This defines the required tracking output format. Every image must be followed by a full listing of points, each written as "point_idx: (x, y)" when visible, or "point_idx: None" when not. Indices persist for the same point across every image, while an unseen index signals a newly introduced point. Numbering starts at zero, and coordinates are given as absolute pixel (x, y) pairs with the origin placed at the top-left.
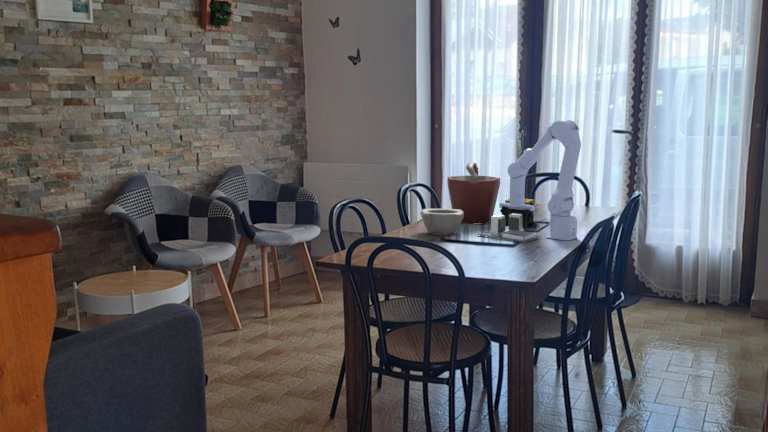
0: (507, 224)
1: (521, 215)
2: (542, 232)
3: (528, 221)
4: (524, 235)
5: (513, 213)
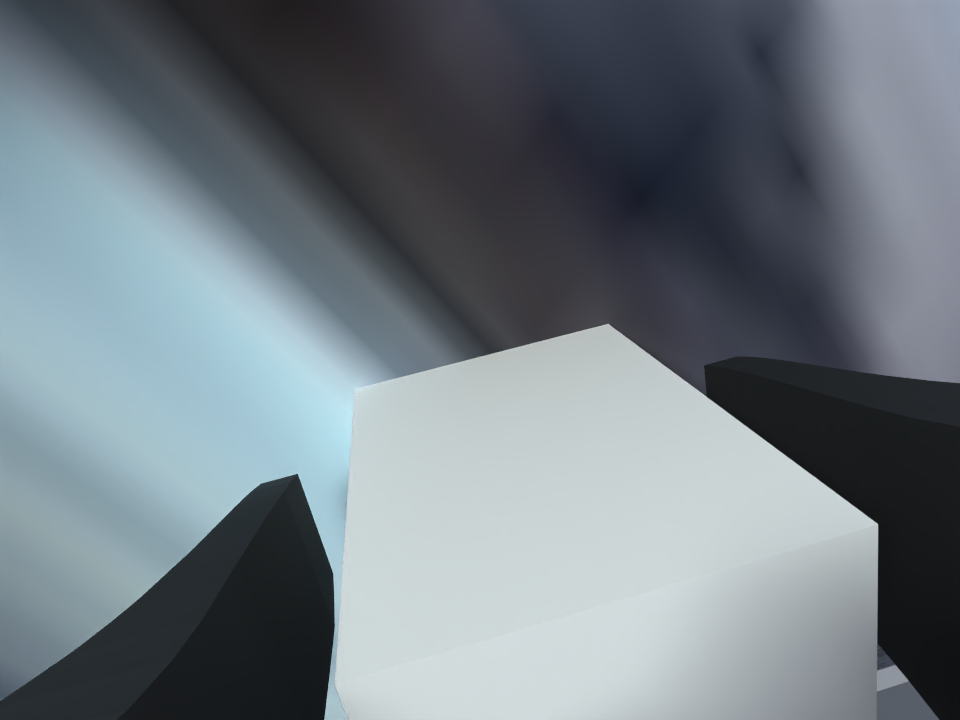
0: (324, 590)
1: (871, 691)
2: (911, 48)
3: (877, 380)
4: None
5: (390, 689)
